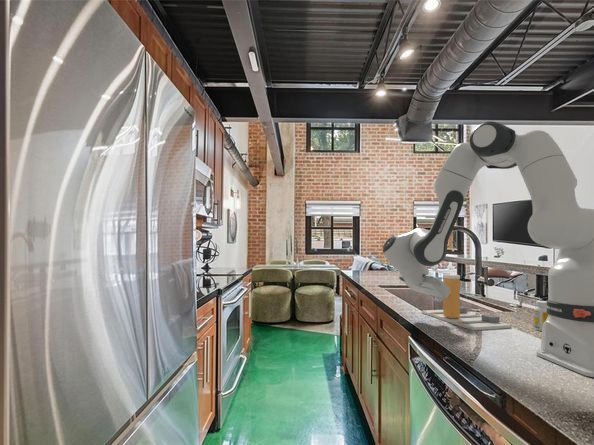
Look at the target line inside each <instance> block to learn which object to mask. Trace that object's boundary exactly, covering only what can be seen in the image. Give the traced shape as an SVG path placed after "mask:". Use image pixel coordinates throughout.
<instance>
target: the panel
mask: <svg viewBox="0 0 594 445" xmlns="http://www.w3.org/2000/svg"><path fill="white" fill-rule="evenodd" d="M423 313H424V315H426V314H427V316H429V315H430V317H432V316H433V318H436V319H438V320H441V321H444V322H447V323H449V324H453V325H456V326H458V327H461V328H465V329H467V330H470V331H485V330H501V329H511V328H512V325H511V324H509V323H505V322H501V321H500V316H498V315H494V314H481V315H479V314H473V313H470V312H468V308H467V307H464V306H461V305H460V318H449V317H445V316H443V309H430V310H429V309H427V310H421V314H423Z"/></svg>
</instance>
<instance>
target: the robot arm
mask: <svg viewBox="0 0 594 445" xmlns="http://www.w3.org/2000/svg"><path fill="white" fill-rule="evenodd" d="M484 167H486V168H487V169H498V170H499V169H500V170H501V169H502V170H509V169H513V168H516V167H517V168H518V170H519V172H520V175H521V178H522V179H523V181H524V184H525V185H526V188H527V190H528V194H529V195H530V196H529V197H530V200H531V205H532V213H531V214H532V215H531V216H530V217H529V220H528V222H527V232H528V234H529V237H530V239H531V240H532V241H533V242H535V243H536V244H538V245H540V246H542V247H546V248H550V249H553V250H558V253H557V257H556V259H555V262H554V264H552V266H551V267H550V268H549V269H548V272H547V283H548V284H547V286H548V289H547V290H548V292H547V293H548V294H547V295H548V296H547V297H548V299H546V301H547V304H546V308H547V313H548V317H547V319H546V321H545V322H544V323H543V327H542V331H541V341H540V349H538V350H536V354H535V355H536V356H538V357H539V358H542V359H545V360H547V361H550V362H552V363H554V364H557V365H559V366H561V367H564V368H566V369H569V370H571V371H574V372H576V373H578V374H581V375H583V376H586V377H591V378H594V208H582V207H580V206H579V204H578V202H577V199H576V192H575V190H576V187H577V186H578V179H577V177H576V175H575V173H574V171H573V170H572V167H571V166H570V164H569V162H568V160H567V158H566V156H565V154H564V153H563V151H562V149H561V148H560V147H559V144H558V143H557V142H556V141H555V140H554V138H553V137H552V136H551V135H550V134H549V133H548V132H546V131H545V130H544V131H543V130H532V131H528V132H526V133H524V134H520V135H519V134H516V131H515V130H514V129H513V128H511V127H508V126H507V125H505V124H503V123H500V122H496V121H484V122H482V123H480V124H478V125H477V126H475V127H474V129H473V130H472V132H471V133H470V136H469V142H461V143H459V144H457V145H455V147H454V148H453V149H452V150H451V152H450V153H449V155H448V156H447V157H446V159H445V161H444V162H443V164H442V166H441V168H440V170H439V171H438V174H437V176H436V179H435V182H434V192H435V194H436V197H437V200H438V211H437V213H436V215H435V217H434V220H433V222H432V224H431V227H430V230H428V229H426V228H424V227H417V228H413V229H412V230H410V231H408V232H405V233H403V234H398V235H392V236H390V237H389V238H387V240H386V241H385V242H384V244H383V246H382V253H383V255H384V257H385V258H386V260H387V261H388V263H389V264H390V265H391V266H392V267H393V269H395V270H396V271H398V273H399V275H398V276H397V277H398V279H399V280H400V281H402V282H403V283H404V284H405V285H406V286H407V287H408V288H409V289H410V290H412V291H414V292H418V293H422V294H425V295H427V296H429V297H430V298H432V299H433V301H434V302H438V303H441V302H443V298H446V297H447V296H448V295H449V294H450V292H451V290H450V289H449V287H448V286H447V285H446V284H445V283H444V282H443V279H441V278H439V276H435V275H430V270H429V269H428V267H433V266H434V267H435V266H437V265H439V264H441V263H442V262H443V261H444V260H445V258H446V256H447V253H448V245H449V244H448V243H449V239H450V237H451V235H452V232H453V229H454V227H455V225H456V223H457V220H458V218H459V216H460V213H461V210H462V208H463V206H464V202H465V199H466V196H467V193H468V192H469V189H470V187H471V185H472V184H473V182H474V180H475V179H476V176H477V174H478V173H479V171H480V170H481V169H482V168H484Z"/></svg>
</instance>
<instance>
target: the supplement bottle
mask: <svg viewBox="0 0 594 445" xmlns="http://www.w3.org/2000/svg"><path fill="white" fill-rule="evenodd" d="M535 304H536V305H535V307H534V308H533V327H534V330H535V331H538V332H542V327H543V323H544V322H545V321H546V319H547V317H548V313H547V308H546V304H547V300H536V302H535Z"/></svg>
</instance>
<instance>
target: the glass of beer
mask: <svg viewBox="0 0 594 445" xmlns="http://www.w3.org/2000/svg"><path fill="white" fill-rule="evenodd" d="M442 278H443V279H442V281H443V282H444V283H445V284H446V285H447V286H448V287H449V289H450V290H451V292H450V294H449V295H448V296H447V297H446V298H442V304H443V306H442V307H443V308H442V310H443V316H445V317H449V318H460V306H461V304H460V303H461V301H460V300H461V299H460V298H461V295H460V292H461V289H460V288H461V287H460V286H461V283H460V281H461V280H460V279H461V275H460V274H452V273H449V274H448V273H447V274H443V273H442Z"/></svg>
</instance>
